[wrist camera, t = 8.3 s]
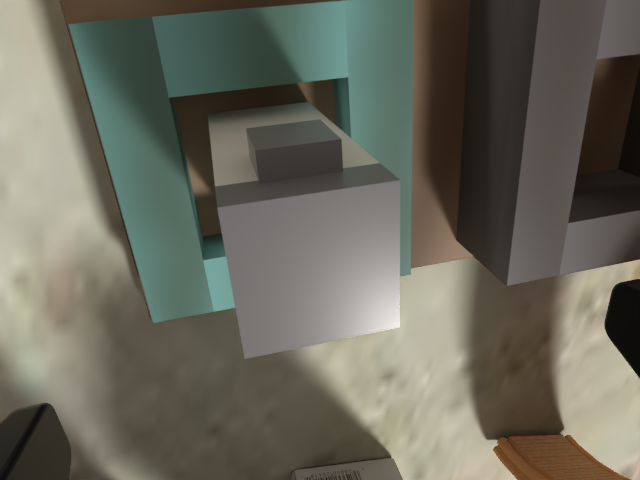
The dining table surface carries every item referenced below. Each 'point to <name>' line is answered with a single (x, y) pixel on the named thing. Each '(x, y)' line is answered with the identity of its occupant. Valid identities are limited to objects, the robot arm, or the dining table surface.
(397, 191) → the plug
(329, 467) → the coffee box
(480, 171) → the dock
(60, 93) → the dining table surface
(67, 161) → the dining table surface
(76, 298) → the dining table surface
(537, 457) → the arch
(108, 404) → the dining table surface
